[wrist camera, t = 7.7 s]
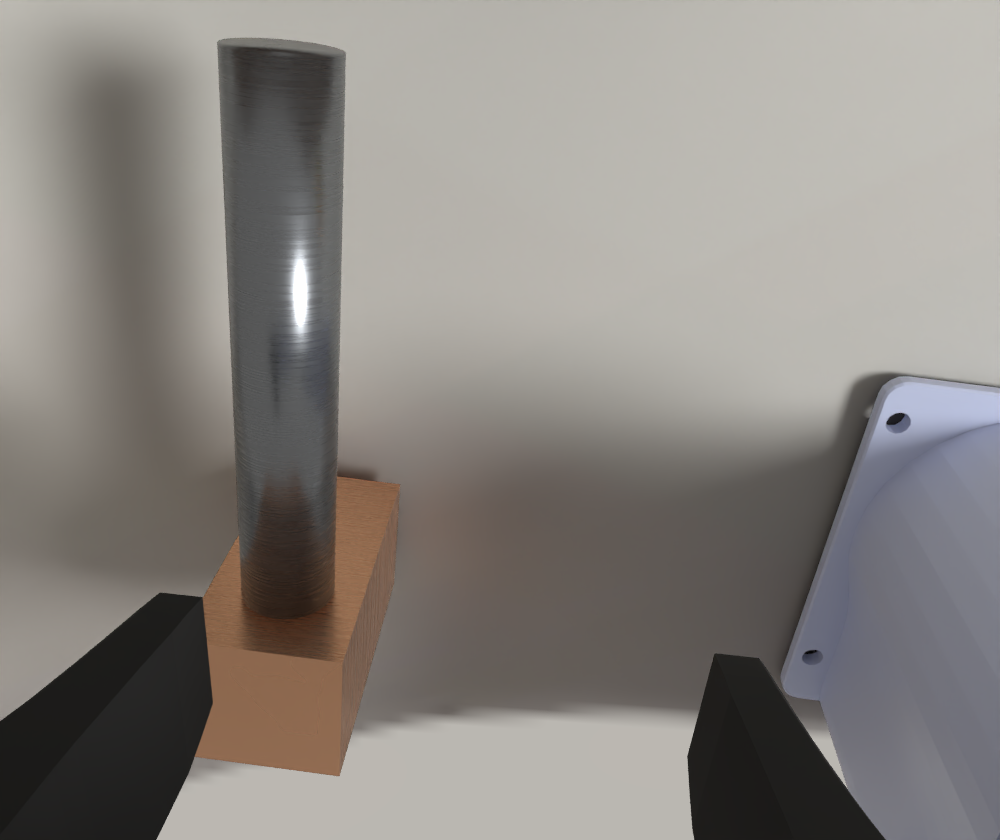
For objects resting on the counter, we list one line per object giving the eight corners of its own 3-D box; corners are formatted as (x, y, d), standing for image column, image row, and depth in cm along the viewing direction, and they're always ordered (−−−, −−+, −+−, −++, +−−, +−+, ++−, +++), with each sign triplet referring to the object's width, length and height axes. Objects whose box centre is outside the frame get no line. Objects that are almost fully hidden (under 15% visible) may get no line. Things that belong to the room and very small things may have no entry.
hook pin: (394, 582, 23) (339, 775, 17) (278, 567, 23) (188, 756, 18) (427, 34, 17) (358, 76, 11) (268, 14, 17) (125, 48, 11)
